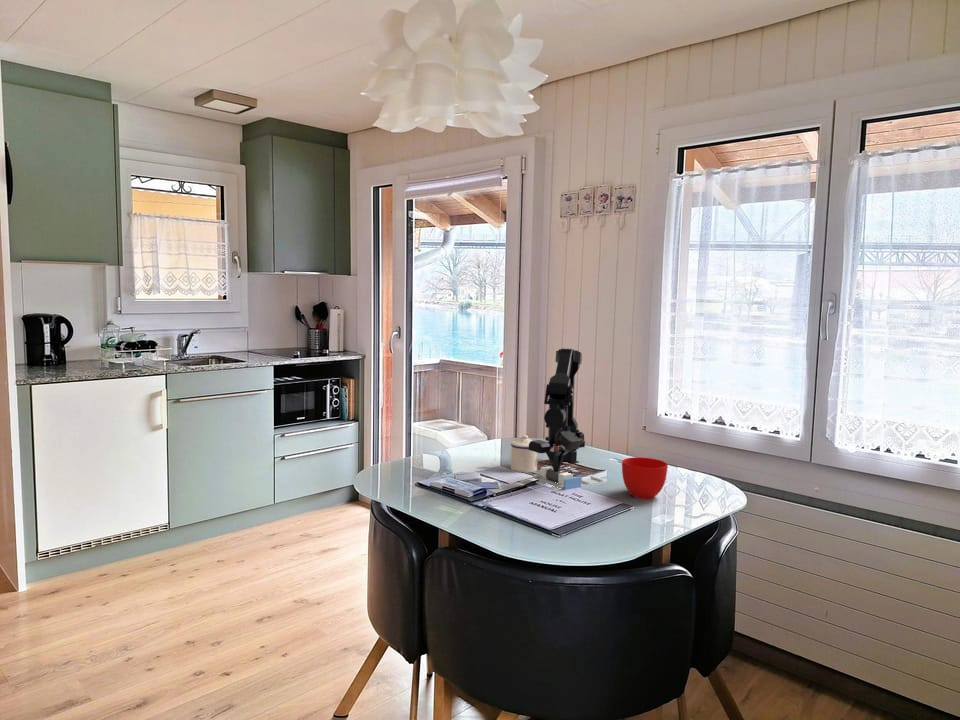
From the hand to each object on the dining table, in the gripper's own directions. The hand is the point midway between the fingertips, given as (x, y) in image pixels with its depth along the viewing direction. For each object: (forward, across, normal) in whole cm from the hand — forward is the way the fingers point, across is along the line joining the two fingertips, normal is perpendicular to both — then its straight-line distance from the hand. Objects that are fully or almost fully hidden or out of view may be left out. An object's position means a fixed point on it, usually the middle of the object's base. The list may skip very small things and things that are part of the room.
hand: (556, 471), depth 210 cm
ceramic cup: (+4, +15, -22) cm, 27 cm away
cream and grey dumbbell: (+3, 0, 0) cm, 3 cm away
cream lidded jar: (+4, +2, +19) cm, 20 cm away
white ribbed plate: (+4, +5, 0) cm, 6 cm away
